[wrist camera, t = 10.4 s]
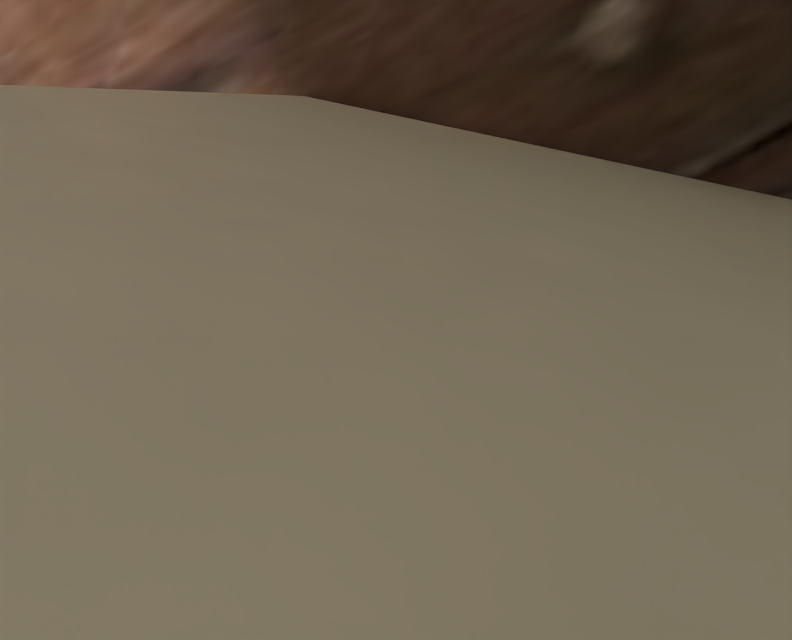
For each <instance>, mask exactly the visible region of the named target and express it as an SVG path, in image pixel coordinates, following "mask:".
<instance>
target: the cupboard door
mask: <svg viewBox="0 0 792 640" xmlns="http://www.w3.org/2000/svg"><path fill="white" fill-rule="evenodd" d="M0 640H792V200H791V199H786V198H781V197H777V196H772V195H767V194H763V193H758V192H753V191H749V190H744V189H739V188H734V187H730V186H725V185H720V184H716V183H711V182H706V181H701V180H697V179H692V178H687V177H683V176H678V175H673V174H669V173H664V172H659V171H654V170H650V169H645V168H640V167H636V166H631V165H626V164H621V163H617V162H612V161H607V160H603V159H598V158H593V157H589V156H584V155H579V154H574V153H570V152H565V151H560V150H556V149H551V148H546V147H541V146H537V145H532V144H527V143H523V142H518V141H513V140H509V139H504V138H499V137H494V136H490V135H485V134H480V133H476V132H471V131H466V130H461V129H457V128H452V127H447V126H443V125H438V124H433V123H429V122H424V121H419V120H414V119H410V118H405V117H400V116H396V115H391V114H386V113H382V112H377V111H372V110H367V109H363V108H358V107H353V106H349V105H344V104H339V103H334V102H330V101H325V100H320V99H316V98H311V97H306V96H290V95H263V94H235V93H208V92H180V91H153V90H126V89H98V88H71V87H44V86H16V85H0Z"/></svg>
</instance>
